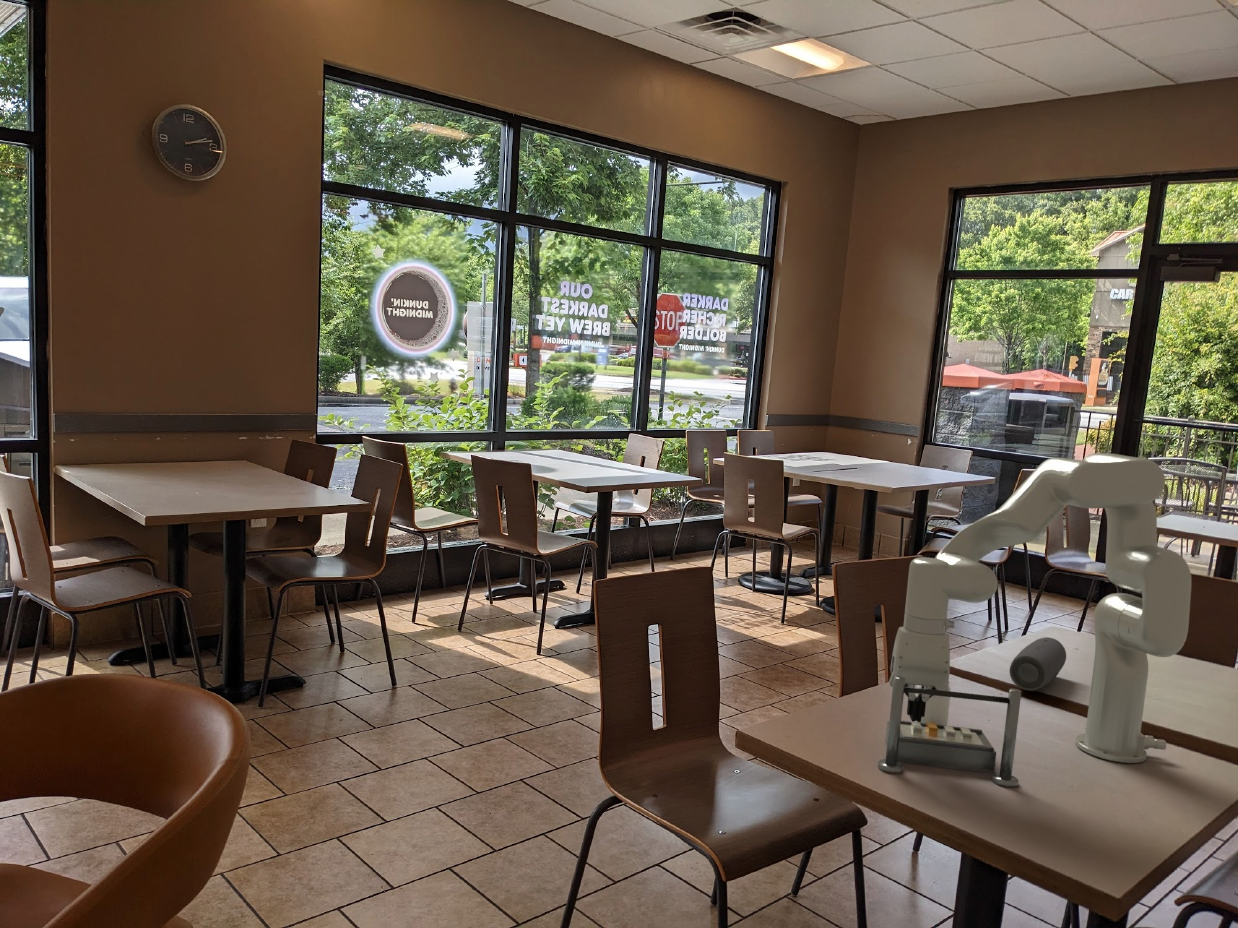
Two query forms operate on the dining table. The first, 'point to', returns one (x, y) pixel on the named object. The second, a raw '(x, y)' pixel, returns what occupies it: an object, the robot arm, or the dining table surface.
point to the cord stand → (899, 688)
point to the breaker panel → (944, 747)
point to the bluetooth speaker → (1038, 664)
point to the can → (936, 709)
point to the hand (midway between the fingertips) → (915, 719)
